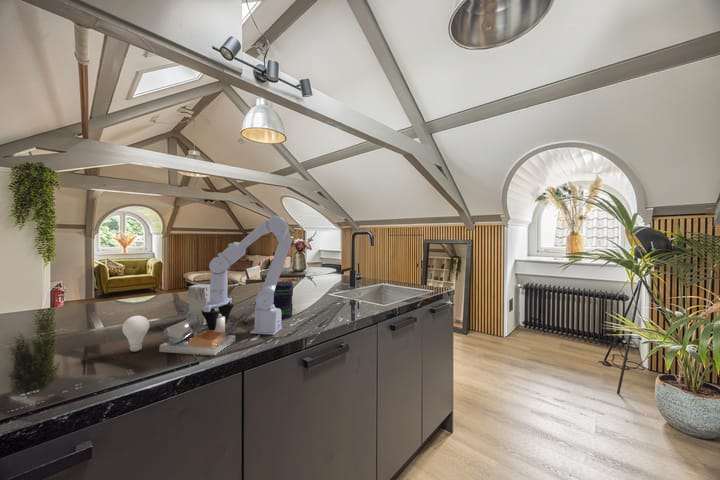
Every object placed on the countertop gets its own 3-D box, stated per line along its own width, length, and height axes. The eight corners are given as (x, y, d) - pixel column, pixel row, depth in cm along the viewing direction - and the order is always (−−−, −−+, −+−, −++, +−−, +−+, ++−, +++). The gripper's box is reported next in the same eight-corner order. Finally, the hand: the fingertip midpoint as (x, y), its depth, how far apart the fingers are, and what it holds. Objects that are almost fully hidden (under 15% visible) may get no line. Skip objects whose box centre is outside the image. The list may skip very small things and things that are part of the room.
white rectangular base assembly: (235, 341, 100) (235, 319, 100) (214, 355, 88) (214, 330, 88) (186, 338, 102) (186, 316, 102) (159, 351, 90) (159, 327, 90)
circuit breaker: (224, 315, 131) (225, 282, 131) (204, 325, 117) (205, 287, 117) (208, 314, 132) (209, 281, 132) (187, 324, 118) (187, 286, 117)
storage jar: (275, 313, 137) (276, 281, 137) (295, 314, 136) (296, 282, 135) (265, 319, 127) (266, 284, 127) (287, 320, 126) (288, 285, 126)
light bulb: (127, 357, 85) (127, 320, 85) (118, 352, 89) (118, 316, 88) (153, 350, 91) (153, 315, 90) (143, 345, 94) (143, 312, 94)
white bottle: (227, 332, 109) (227, 313, 109) (220, 336, 105) (220, 316, 104) (216, 331, 109) (216, 312, 109) (208, 335, 105) (209, 315, 105)
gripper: (220, 285, 114) (219, 320, 115) (195, 293, 100) (194, 332, 100) (237, 286, 114) (236, 321, 114) (214, 294, 99) (214, 333, 99)
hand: (218, 326), depth 107 cm, fingers open, 7 cm apart
